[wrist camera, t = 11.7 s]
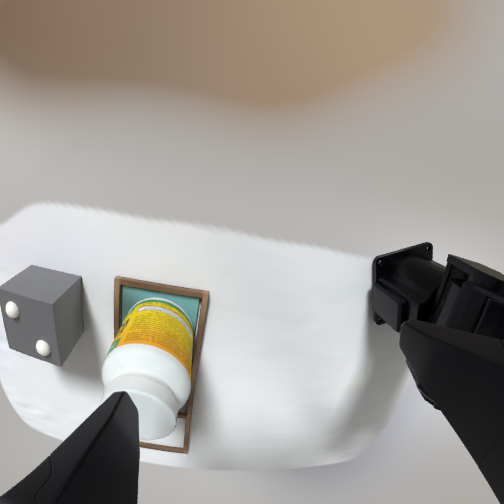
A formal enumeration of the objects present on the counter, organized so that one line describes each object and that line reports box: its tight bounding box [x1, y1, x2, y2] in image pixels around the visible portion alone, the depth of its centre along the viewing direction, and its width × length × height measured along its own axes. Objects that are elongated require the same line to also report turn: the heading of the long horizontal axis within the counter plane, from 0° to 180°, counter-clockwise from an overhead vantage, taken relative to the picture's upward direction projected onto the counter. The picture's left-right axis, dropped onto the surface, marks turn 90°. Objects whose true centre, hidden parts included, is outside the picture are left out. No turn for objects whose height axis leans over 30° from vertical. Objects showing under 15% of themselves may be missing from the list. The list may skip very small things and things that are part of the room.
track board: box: [114, 276, 209, 454], centre depth 22 cm, size 20×7×1 cm, turn 169°
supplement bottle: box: [101, 297, 193, 440], centre depth 16 cm, size 5×5×10 cm
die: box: [0, 265, 84, 366], centre depth 17 cm, size 5×5×6 cm
